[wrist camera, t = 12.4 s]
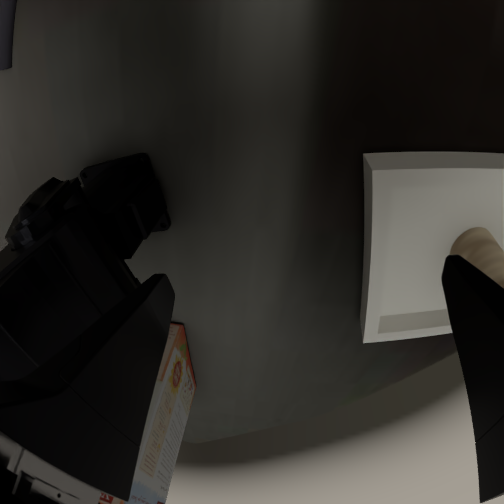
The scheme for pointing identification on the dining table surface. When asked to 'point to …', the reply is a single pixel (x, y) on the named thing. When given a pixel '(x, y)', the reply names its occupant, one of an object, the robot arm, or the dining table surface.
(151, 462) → the cracker box
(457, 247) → the handle post
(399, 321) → the tray
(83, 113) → the dining table surface
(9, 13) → the dark grey t-shape
